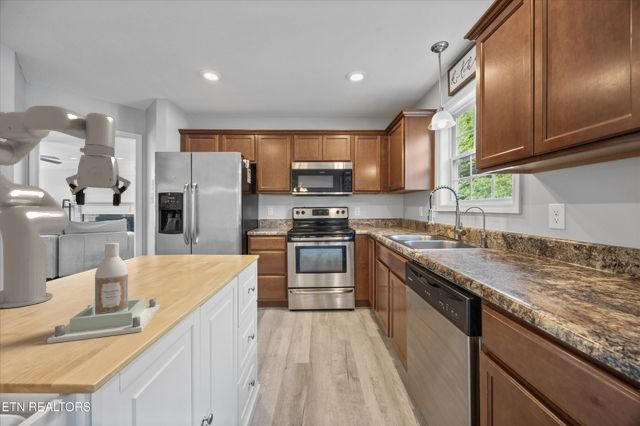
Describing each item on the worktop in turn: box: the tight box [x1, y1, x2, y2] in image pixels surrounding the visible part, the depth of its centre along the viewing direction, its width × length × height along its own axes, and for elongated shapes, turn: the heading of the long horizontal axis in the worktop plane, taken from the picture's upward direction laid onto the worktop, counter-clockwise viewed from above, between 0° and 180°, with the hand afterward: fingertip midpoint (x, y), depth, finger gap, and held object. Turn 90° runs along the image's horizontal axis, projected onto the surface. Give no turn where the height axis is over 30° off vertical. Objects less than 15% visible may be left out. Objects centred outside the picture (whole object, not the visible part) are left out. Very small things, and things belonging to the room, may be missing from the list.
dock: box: [46, 297, 160, 344], centre depth 71 cm, size 18×18×4 cm
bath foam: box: [94, 242, 129, 315], centre depth 71 cm, size 7×7×20 cm
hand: (98, 205), depth 88 cm, fingers open, 9 cm apart
